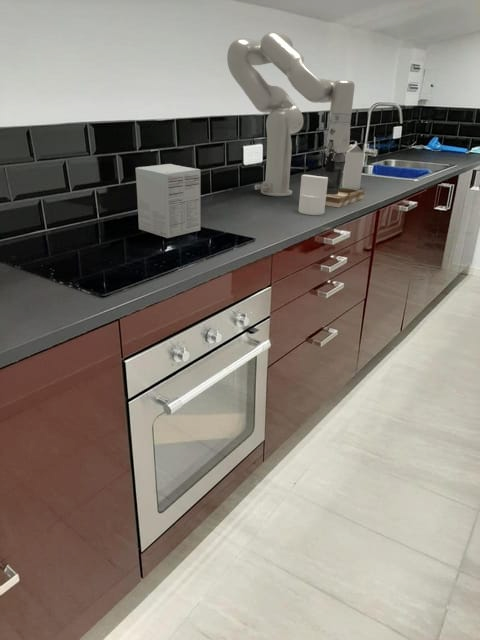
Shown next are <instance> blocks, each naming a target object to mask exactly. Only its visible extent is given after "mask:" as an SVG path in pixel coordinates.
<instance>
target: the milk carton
mask: <svg viewBox="0 0 480 640" xmlns="http://www.w3.org/2000/svg"><path fill="white" fill-rule="evenodd" d="M364 159H365V152H364V151H363V150H362V149H361V148H360V147H359V146H358V142H357V141H354V144H349V150H348V151H347V152H346V154H345V162H346V163H345V166H344V169H343V173H342V178H341V187H345V188H351V189H358V190H360V188H361V180H362V174H363V166H364V161H365V160H364Z"/></svg>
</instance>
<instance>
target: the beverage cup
mask: <svg viewBox="0 0 480 640" xmlns="http://www.w3.org/2000/svg"><path fill="white" fill-rule="evenodd" d="M333 152H334V151H333ZM331 155H332V156H333V154H331ZM334 161H335V165H334V172H326V171H325V172H326V176H325V177H328V183H327V194H332V195H336V194H338V192H339V188H340V187H341V184H342V179H343V171H344V169H343V168H344V166H345V163H346V162H345V155H344V154H343V153H340V154H337V153H336V155H335V158H334Z"/></svg>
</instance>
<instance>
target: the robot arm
mask: <svg viewBox="0 0 480 640" xmlns="http://www.w3.org/2000/svg"><path fill="white" fill-rule="evenodd" d="M226 58H227V59H226V60H227V61H226V62H227V66H228V70H229V72H230V75H231V77H233V79H234V80H235V81H236V83H237V84H238V85H239V87H240V88H241V89H242V91H243V93H244V94H245V95H246V97H248V98H247V99H249V101H250V102H251V103H252V105H253V106H254V108H255V109H256V110H257V111H259V112H260V113H264V114H266V113H268V115H267V118H266V120H265V121H266V122H265V128H266V136H267V137H266V138H267V139H266V141H267V143H266V144H267V146H266V162H265V163H266V165H265V180H263V182H262V183H261V184H255V185H254V186H253V187H254V190H256V191H257V190H260V193H261V194H262V195H266V196H270V197H290V196H292V195H293V190H291V189H289V188H290V177H291V163H292V162H291V161H292V149H293V145H292V137H291V135H293V134H297V133H298V132H300V131H301V130H302V128H303V126H304V115H303V114H302V111H301V110H300V109H299V107H298V106H297V105H296V103H295V102H294V100H293V99H292V98H291V97H290V95H289V94H288V92H287V91H286V90H285V89H284V88H282V87H281V86H278V85H270V84H269V83H268V82H267V81H266V80H265V79H264V78H263V75H261V74H260V72H259V71H258V70H257V69H255V68H254V67H255V66H262V65H267V64H273V65H274V66H275V67H276V68H277V69H278V70H279V71H281V72H282V73H283V74H284V75H285V76H286V78H287V80H288V81H289V83H290V84H291V86H292V87H293V88H294V89H295V90H296V91H297V92H298V93H299V94H300V95H301V96H302V97H303V98H305V99H306V100H307V101H309V102H311V103H314V104H315V103H317V104H318V103H322V104H326V103H330V109H329V120H328V125H329V126H328V131H327V137H326V144H325V145H326V146H325V149H324V152H325V153H324V154H325V170H324V172H334V165H335V161H334V158H335V155H336V153H337V154H340V153H343V154H344V155H345V154H346V152H347V151H348V150H349V146H350V142H351V141H350V140H351V139H350V138H351V137H350V136H351V120H352V113H353V106H354V105H353V104H354V103H353V102H354V94H355V87H356V86H355V83H354V81H353V80H342V79H341V80H331V79H325V78H318V77H317V76H316V75H315V74H313V73H312V72H311V71H310V70H309V69H308V68H307V66H305V64H304V62H305V61H304V60H305V59H304V55H303V54H302V53H301V52H299V51H298V50H297V49H296V48H295V47H294V45H293V41H292V40H291V38H290V37H289V36H288V35H287V34H284V33H281V32H274V31H271V32H268V33H266V34H265V35H263V36H262V37H261V39H260V40H255V39H251V38H238V39H235V40H234V41H232V42H231V44H230V45H229V47H228V51H227V55H226ZM253 66H254V67H253ZM333 151H334V152H333ZM331 154H333V156H332V155H331ZM343 170H344V168H343Z"/></svg>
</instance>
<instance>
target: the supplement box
mask: <svg viewBox="0 0 480 640" xmlns="http://www.w3.org/2000/svg"><path fill="white" fill-rule="evenodd" d="M135 179H136V180H135V183H136V196H137V197H136V198H137V214H138V216H137V217H138V220H137V221H138V230H141V231H144V232H147V233H151V234H154V235H156V236H160V237H164V238H165V239H169V238H174V237H177V236H181V235H186V234H190V233H194V232H199V231H201V169H199V168H193V167H189V166H188V167H187V166H182V165H176V164H173V163H165V164H157V165H149V166H138V167H135Z"/></svg>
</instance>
